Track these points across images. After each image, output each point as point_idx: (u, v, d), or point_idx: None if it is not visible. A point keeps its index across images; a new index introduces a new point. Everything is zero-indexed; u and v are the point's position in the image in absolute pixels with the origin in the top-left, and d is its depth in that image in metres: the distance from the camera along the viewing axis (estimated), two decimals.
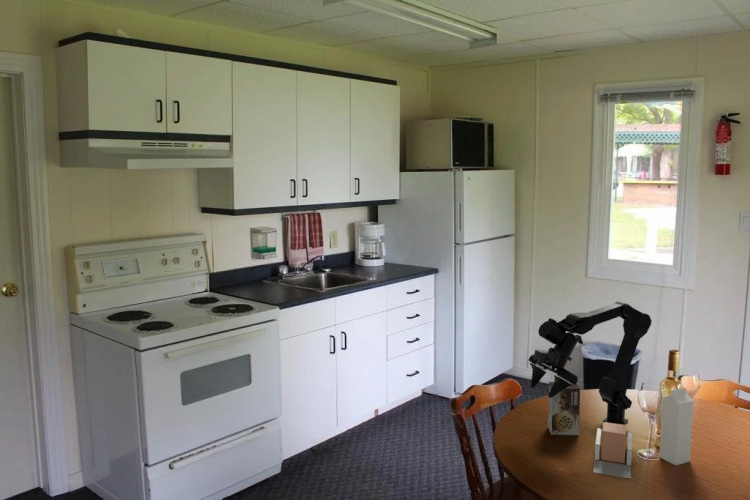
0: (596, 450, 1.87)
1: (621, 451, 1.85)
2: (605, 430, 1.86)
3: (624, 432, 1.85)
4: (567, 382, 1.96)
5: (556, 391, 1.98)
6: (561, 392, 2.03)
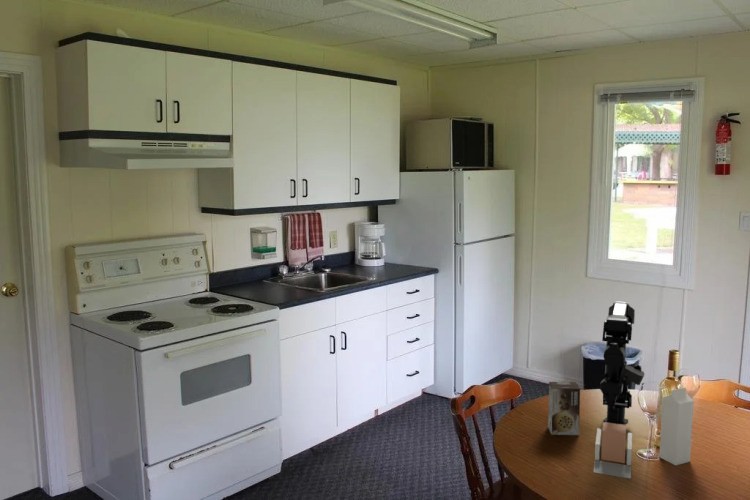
0: (596, 450, 1.87)
1: (621, 451, 1.85)
2: (605, 430, 1.86)
3: (624, 432, 1.85)
4: None
5: None
6: (561, 392, 2.03)
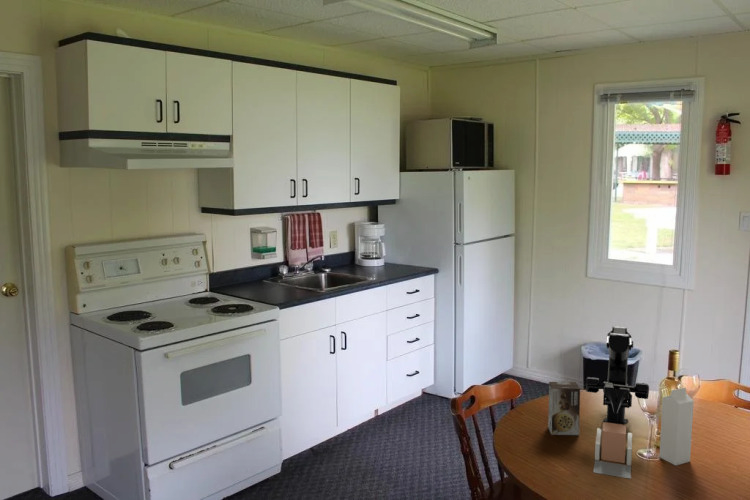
0: (596, 450, 1.87)
1: (621, 451, 1.85)
2: (605, 430, 1.86)
3: (624, 432, 1.85)
4: None
5: (611, 403, 1.97)
6: (561, 392, 2.03)
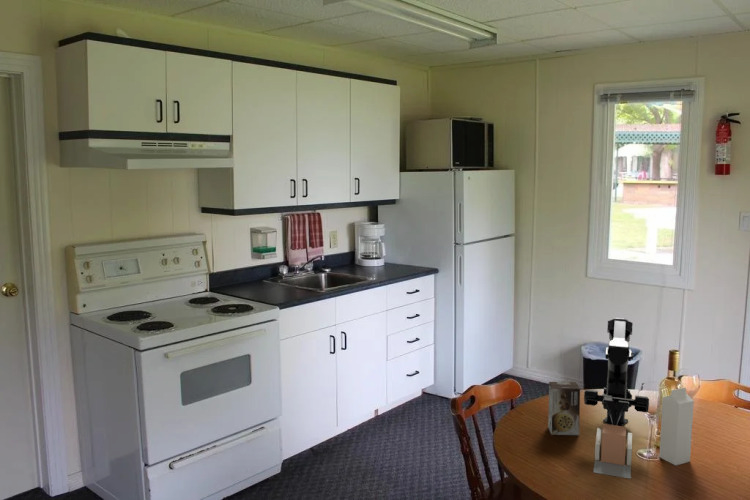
0: (596, 450, 1.87)
1: (621, 453, 1.84)
2: (605, 432, 1.85)
3: (624, 434, 1.84)
4: None
5: (610, 416, 1.92)
6: (561, 392, 2.03)
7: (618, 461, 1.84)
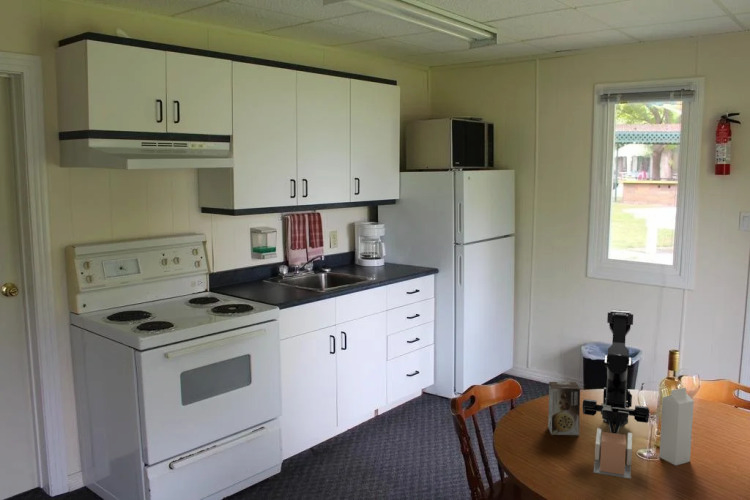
0: (596, 450, 1.87)
1: (621, 462, 1.78)
2: (604, 441, 1.79)
3: (624, 442, 1.78)
4: (602, 413, 1.90)
5: (610, 427, 1.87)
6: (561, 392, 2.03)
7: (618, 470, 1.78)
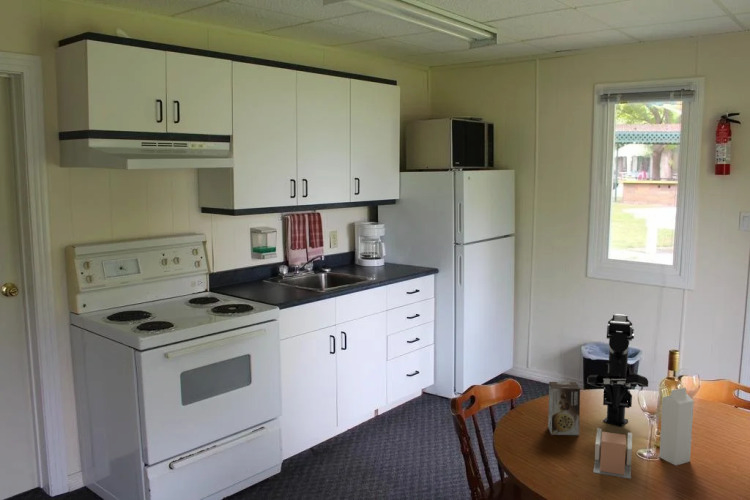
0: (596, 450, 1.87)
1: (621, 462, 1.78)
2: (604, 441, 1.79)
3: (624, 442, 1.78)
4: None
5: None
6: (561, 392, 2.03)
7: (618, 470, 1.78)
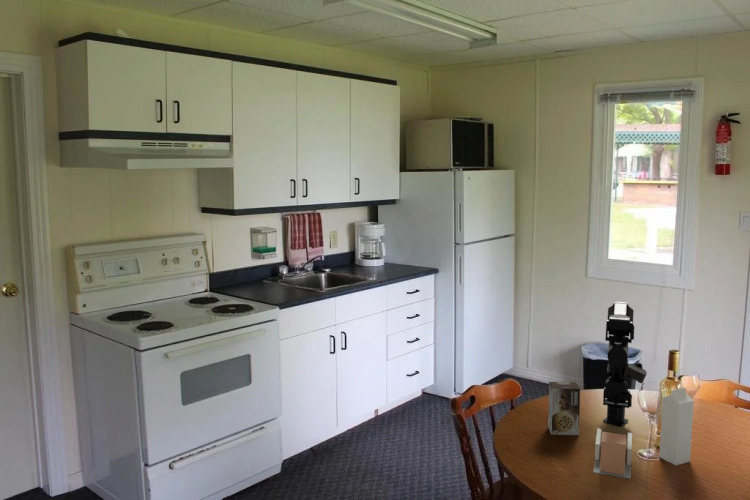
0: (596, 450, 1.87)
1: (621, 462, 1.78)
2: (604, 441, 1.79)
3: (624, 442, 1.78)
4: None
5: None
6: (561, 392, 2.03)
7: (618, 470, 1.78)
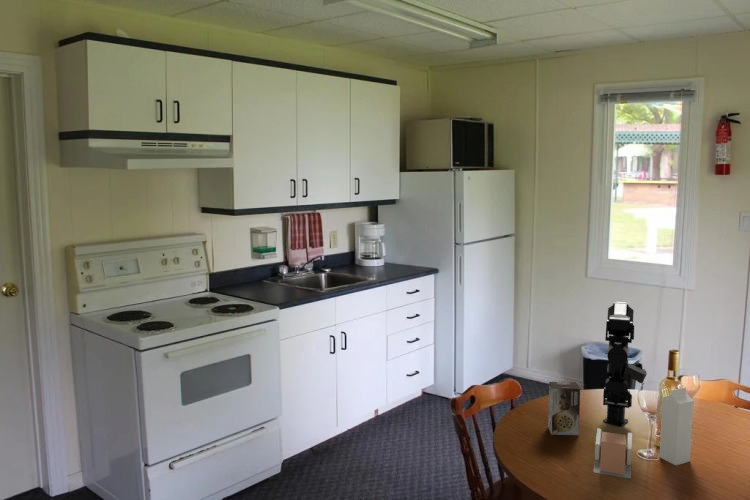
0: (596, 450, 1.87)
1: (621, 462, 1.78)
2: (604, 441, 1.79)
3: (624, 442, 1.78)
4: None
5: None
6: (561, 392, 2.03)
7: (618, 470, 1.78)
